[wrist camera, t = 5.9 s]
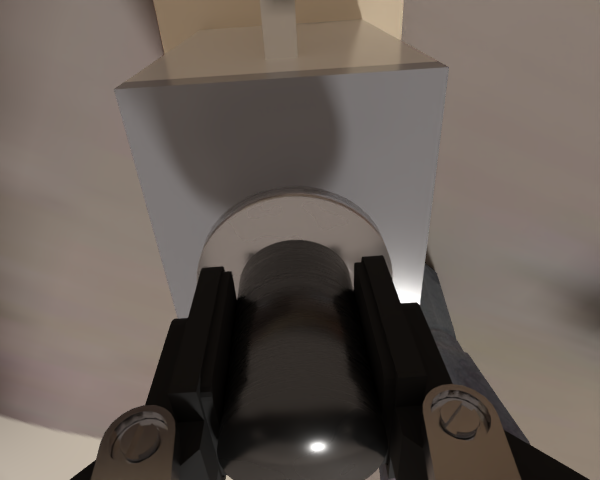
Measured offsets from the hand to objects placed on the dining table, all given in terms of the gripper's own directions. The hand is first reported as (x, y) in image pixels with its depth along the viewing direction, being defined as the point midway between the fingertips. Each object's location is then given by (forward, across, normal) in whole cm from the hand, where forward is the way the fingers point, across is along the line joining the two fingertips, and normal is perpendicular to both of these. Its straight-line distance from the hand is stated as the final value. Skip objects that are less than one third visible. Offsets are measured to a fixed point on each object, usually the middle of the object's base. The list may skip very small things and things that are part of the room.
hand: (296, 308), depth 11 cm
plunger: (+19, 0, 0) cm, 19 cm away
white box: (+22, 0, 0) cm, 22 cm away
